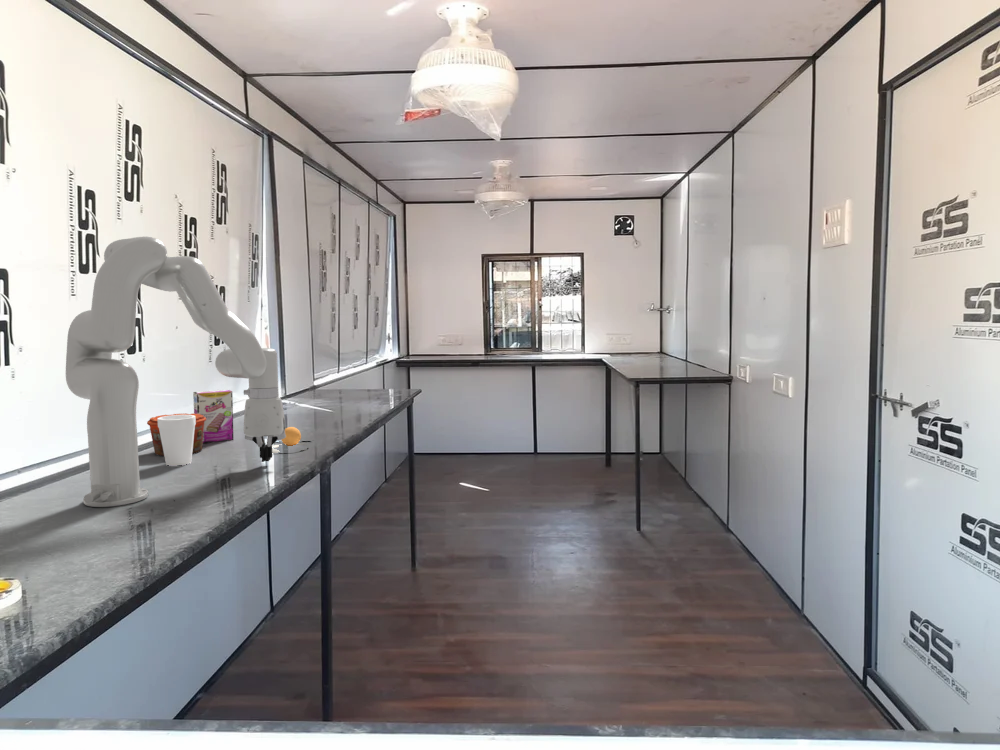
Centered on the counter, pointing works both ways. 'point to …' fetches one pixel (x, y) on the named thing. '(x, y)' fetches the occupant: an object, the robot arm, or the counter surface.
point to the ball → (291, 436)
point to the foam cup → (177, 438)
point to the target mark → (275, 449)
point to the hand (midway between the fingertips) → (266, 460)
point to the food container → (197, 433)
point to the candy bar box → (215, 414)
